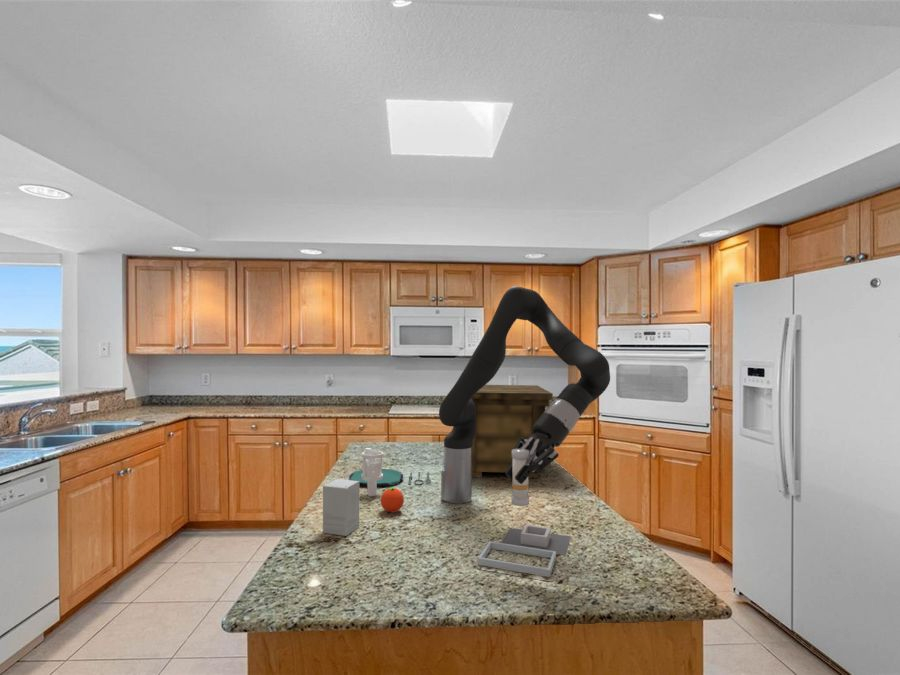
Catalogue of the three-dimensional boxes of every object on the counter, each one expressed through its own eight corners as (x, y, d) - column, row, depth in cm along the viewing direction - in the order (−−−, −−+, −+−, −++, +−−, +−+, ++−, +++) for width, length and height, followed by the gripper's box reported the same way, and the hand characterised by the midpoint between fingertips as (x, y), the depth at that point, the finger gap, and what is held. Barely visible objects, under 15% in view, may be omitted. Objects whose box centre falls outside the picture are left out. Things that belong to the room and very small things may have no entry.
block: (499, 549, 119) (499, 534, 119) (509, 532, 131) (509, 518, 131) (565, 560, 114) (565, 544, 114) (570, 541, 125) (570, 526, 125)
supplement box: (360, 526, 133) (360, 480, 133) (345, 537, 126) (346, 488, 126) (336, 523, 136) (337, 478, 136) (321, 533, 129) (322, 485, 129)
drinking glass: (374, 490, 166) (375, 446, 167) (386, 494, 161) (387, 449, 162) (357, 494, 162) (357, 449, 162) (369, 499, 157) (370, 452, 157)
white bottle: (509, 504, 110) (510, 451, 110) (513, 499, 114) (513, 448, 114) (527, 506, 109) (527, 453, 109) (530, 501, 112) (530, 449, 113)
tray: (477, 569, 109) (477, 558, 109) (489, 551, 118) (489, 541, 118) (549, 582, 103) (550, 570, 103) (555, 562, 113) (556, 551, 113)
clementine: (373, 510, 146) (373, 487, 146) (391, 505, 151) (391, 482, 151) (390, 517, 141) (391, 493, 141) (408, 511, 146) (408, 488, 146)
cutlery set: (353, 473, 188) (353, 467, 188) (430, 474, 189) (430, 468, 189) (344, 489, 168) (344, 482, 168) (430, 490, 170) (430, 484, 170)
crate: (457, 458, 215) (458, 384, 215) (536, 459, 215) (537, 385, 215) (457, 480, 180) (458, 392, 180) (551, 481, 180) (552, 393, 180)
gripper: (530, 407, 121) (487, 461, 116) (566, 415, 108) (520, 476, 103) (547, 427, 123) (506, 481, 118) (585, 437, 110) (540, 498, 105)
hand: (513, 478), depth 110 cm, fingers closed on white bottle, 3 cm apart
